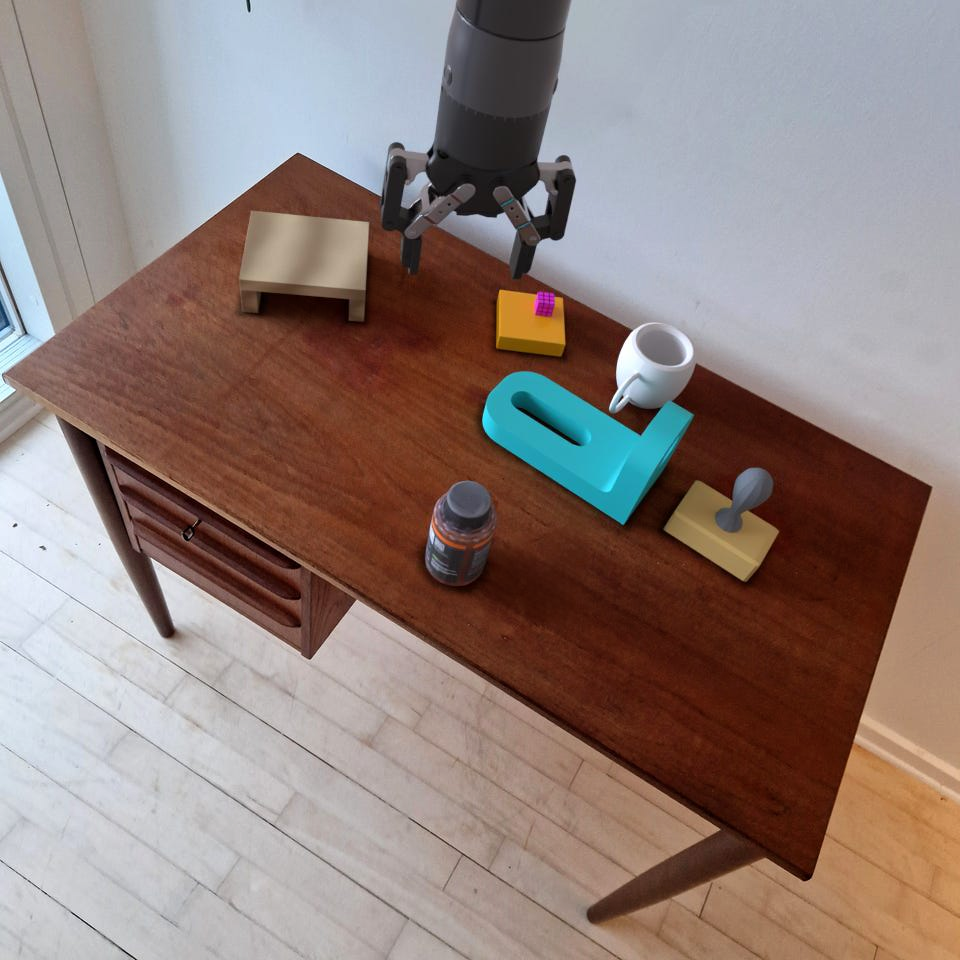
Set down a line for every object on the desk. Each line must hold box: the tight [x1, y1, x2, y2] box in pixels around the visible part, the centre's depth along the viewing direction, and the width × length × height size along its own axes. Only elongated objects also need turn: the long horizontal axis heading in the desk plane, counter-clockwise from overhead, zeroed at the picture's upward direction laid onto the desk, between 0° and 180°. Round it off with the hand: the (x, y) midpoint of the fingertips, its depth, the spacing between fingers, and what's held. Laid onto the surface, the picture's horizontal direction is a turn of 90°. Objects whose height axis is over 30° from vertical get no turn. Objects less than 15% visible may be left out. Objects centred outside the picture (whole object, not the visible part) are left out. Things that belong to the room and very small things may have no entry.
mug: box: [608, 321, 698, 415], centre depth 96 cm, size 12×8×8 cm
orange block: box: [495, 289, 566, 357], centre depth 101 cm, size 8×8×4 cm
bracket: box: [482, 371, 695, 526], centre depth 89 cm, size 20×9×12 cm, turn 55°
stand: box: [238, 210, 370, 323], centre depth 100 cm, size 14×12×5 cm
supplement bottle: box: [424, 480, 498, 587], centre depth 78 cm, size 6×6×11 cm
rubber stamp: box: [663, 467, 780, 583], centre depth 85 cm, size 10×6×12 cm, turn 55°
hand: (463, 270), depth 69 cm, fingers open, 8 cm apart
